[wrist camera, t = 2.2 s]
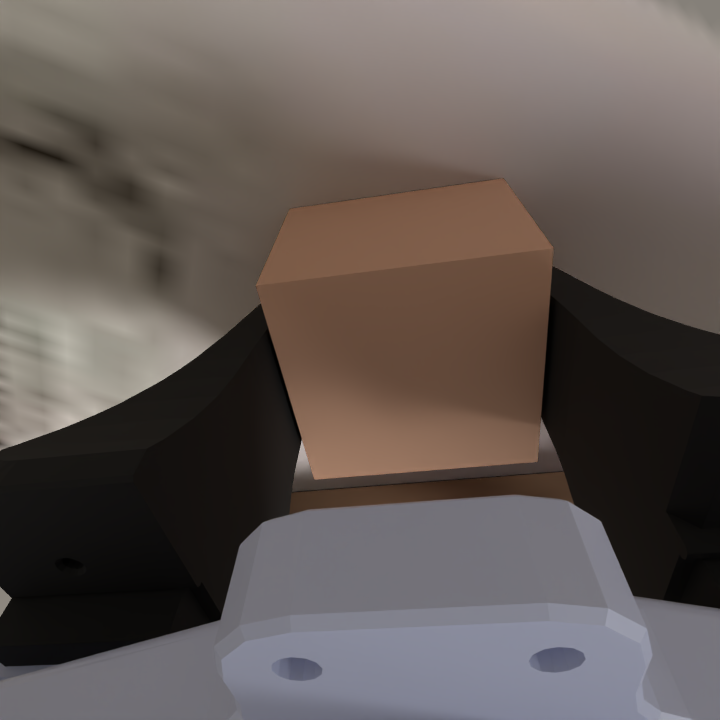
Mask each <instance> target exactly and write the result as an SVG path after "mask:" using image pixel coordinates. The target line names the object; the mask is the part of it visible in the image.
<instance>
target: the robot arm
mask: <svg viewBox="0 0 720 720" xmlns="http://www.w3.org/2000/svg"><path fill="white" fill-rule="evenodd" d="M541 418H542V420H543V422H544V425H545V427H546V429H547V431H548V433H549V436H550V438H551V440H552V442H553V445H554V447H555V449H556V452H557V454H558V457H559V459H560V462H561V464H562V467H563V471H564V474H565V477H566V480H567V483H568V487H569V490H570V493H571V496H572V499H573V503H574V505H573V504H572V503H570V502H568V501H566V500H561V499H555V498H545V497H534V496H524V495H502V496H488V497H474V498H460V499H447V500H433V501H419V502H405V503H392V504H378V505H364V506H350V507H336V508H323V509H309V510H305V511H301V512H297V513H293V514H289V513H290V503H291V493H292V485H293V479H294V473H295V468H296V463H297V459H298V454H299V450H300V445H301V441H302V437H301V434H300V431H299V428H298V424H297V421H296V418H295V414H294V411H293V408H292V404H291V401H290V398H289V395H288V391H287V388H286V385H285V381H284V378H283V375H282V371H281V368H280V365H279V361H278V358H277V355H276V352H275V348H274V345H273V342H272V338H271V335H270V332H269V328H268V325H267V322H266V318H265V315H264V312H263V309H262V305H261V304H260V305H259V306H258V307H256V308H255V309H254V310H253V311H252V312H251V313H250V314H248V315H247V316H246V317H245V318H244V319H243V320H242V321H240V322H239V323H238V324H237V325H236V326H235V327H234V328H233V329H231V330H230V331H229V332H228V333H227V334H226V335H224V336H223V337H222V338H221V339H219V340H218V341H217V342H216V343H214V344H213V345H212V346H211V347H209V348H208V349H207V350H206V351H204V352H203V353H202V354H200V355H199V356H198V357H197V358H195V359H194V360H192V361H191V362H190V363H188V364H187V365H185V366H184V367H182V368H181V369H179V370H178V371H176V372H175V373H173V374H172V375H170V376H168V377H167V378H165V379H164V380H162V381H160V382H159V383H157V384H155V385H153V386H152V387H150V388H148V389H146V390H144V391H142V392H140V393H139V394H137V395H135V396H133V397H131V398H129V399H127V400H126V401H124V402H122V403H120V404H118V405H116V406H114V407H111V408H109V409H107V410H105V411H103V412H101V413H98V414H96V415H94V416H92V417H89V418H87V419H84V420H82V421H80V422H77V423H75V424H73V425H70V426H68V427H65V428H62V429H60V430H57V431H54V432H52V433H49V434H46V435H43V436H40V437H37V438H35V439H32V440H29V441H26V442H23V443H21V444H18V445H15V446H12V447H9V448H6V449H2V450H1V451H0V587H1V588H2V589H3V590H4V591H5V592H6V593H7V594H8V595H9V596H10V597H11V598H12V599H11V601H10V602H9V604H8V606H7V607H6V609H5V610H4V612H3V614H2V615H1V617H0V720H720V335H719V334H715V333H711V332H708V331H704V330H700V329H697V328H693V327H690V326H687V325H684V324H681V323H678V322H675V321H672V320H669V319H666V318H663V317H660V316H657V315H654V314H652V313H649V312H646V311H644V310H642V309H639V308H637V307H635V306H632V305H630V304H627V303H625V302H623V301H620V300H618V299H616V298H614V297H612V296H610V295H608V294H606V293H603V292H601V291H599V290H597V289H595V288H593V287H591V286H590V285H588V284H586V283H584V282H582V281H580V280H578V279H576V278H574V277H572V276H570V275H569V274H567V273H565V272H563V271H561V270H559V269H557V268H555V267H553V266H552V277H551V291H550V304H549V317H548V330H547V344H546V357H545V370H544V384H543V397H542V410H541Z"/></svg>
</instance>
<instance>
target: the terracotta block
mask: <svg viewBox="0 0 720 720" xmlns="http://www.w3.org/2000/svg"><path fill="white" fill-rule="evenodd" d="M553 251H554V248H553V247H552V245H551V244H550V242H549V241H548V240H547V238H546V237H545V235H544V234H543V233H542V231H541V230H540V228H539V227H538V226H537V224H536V223H535V221H534V220H533V219H532V217H531V216H530V214H529V213H528V212H527V210H526V209H525V207H524V206H523V205H522V203H521V202H520V200H519V199H518V198H517V196H516V195H515V193H514V192H513V191H512V189H511V188H510V187H509V185H508V184H507V182H506V181H505V180H504V178H502V179H495V180H488V181H481V182H474V183H467V184H460V185H453V186H446V187H439V188H432V189H425V190H418V191H411V192H404V193H397V194H390V195H383V196H376V197H369V198H362V199H355V200H348V201H341V202H334V203H327V204H320V205H313V206H306V207H299V208H292V209H289V211H288V213H287V216H286V218H285V220H284V222H283V225H282V227H281V229H280V232H279V234H278V236H277V238H276V241H275V243H274V245H273V247H272V250H271V252H270V254H269V257H268V259H267V261H266V263H265V266H264V268H263V270H262V272H261V275H260V277H259V279H258V281H257V284H256V289H257V292H258V295H259V299H260V302H261V305H262V309H263V312H264V315H265V318H266V322H267V325H268V328H269V332H270V335H271V338H272V342H273V345H274V348H275V352H276V355H277V358H278V361H279V365H280V368H281V371H282V375H283V378H284V381H285V385H286V388H287V391H288V395H289V398H290V401H291V404H292V408H293V411H294V414H295V418H296V421H297V424H298V428H299V431H300V434H301V437H302V441H303V444H304V447H305V451H306V454H307V457H308V461H309V464H310V467H311V471H312V474H313V477H314V480H316V479H329V478H342V477H354V476H367V475H379V474H392V473H405V472H417V471H430V470H442V469H455V468H468V467H480V466H493V465H505V464H518V463H531V462H538V450H539V437H540V423H541V410H542V397H543V384H544V370H545V357H546V344H547V330H548V317H549V304H550V291H551V277H552V264H553Z"/></svg>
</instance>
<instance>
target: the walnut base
mask: <svg viewBox="0 0 720 720" xmlns="http://www.w3.org/2000/svg"><path fill="white" fill-rule="evenodd" d="M502 495H524V496H534V497H545V498H555V499H561V500H566V501H568V502H570V503H572V504H573V505H574V503H573V499H572V496H571V493H570V490H569V487H568V483H567V480H566V477H565V474H564V472H554V473H541V474H528V475H515V476H502V477H489V478H476V479H463V480H450V481H437V482H424V483H411V484H397V485H384V486H371V487H358V488H345V489H332V490H319V491H306V492H293V493H291V503H290V513H289V514H293V513H297V512H301V511H305V510H309V509H323V508H336V507H350V506H364V505H378V504H392V503H405V502H419V501H433V500H447V499H460V498H474V497H488V496H502Z"/></svg>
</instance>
